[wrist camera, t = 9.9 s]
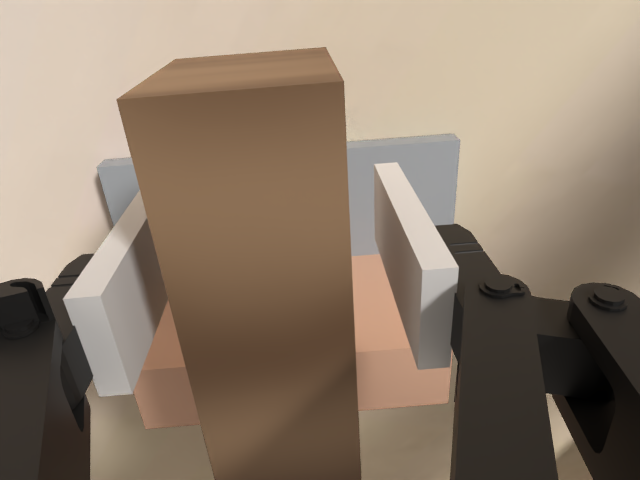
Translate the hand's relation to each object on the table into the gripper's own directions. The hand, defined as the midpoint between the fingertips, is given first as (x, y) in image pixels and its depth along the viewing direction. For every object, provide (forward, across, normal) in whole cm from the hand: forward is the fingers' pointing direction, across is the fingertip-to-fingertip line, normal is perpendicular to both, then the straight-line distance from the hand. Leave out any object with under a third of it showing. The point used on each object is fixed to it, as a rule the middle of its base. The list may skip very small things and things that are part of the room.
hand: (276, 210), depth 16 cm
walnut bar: (-1, 0, +7) cm, 7 cm away
